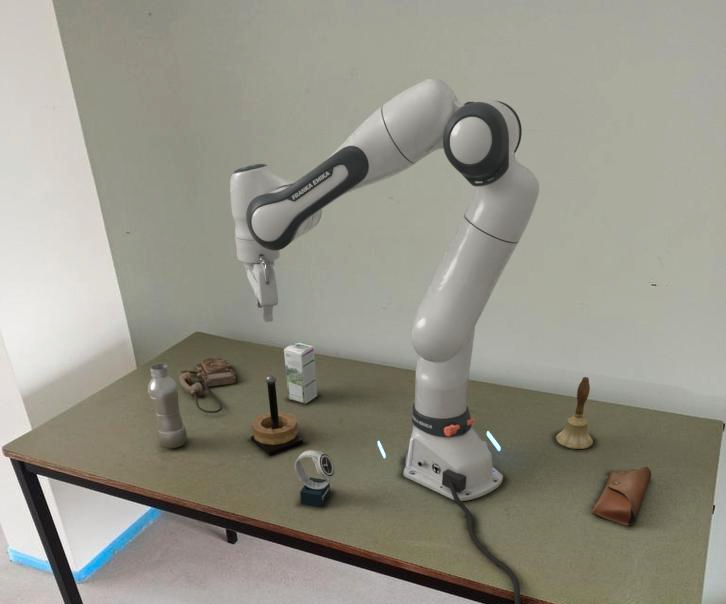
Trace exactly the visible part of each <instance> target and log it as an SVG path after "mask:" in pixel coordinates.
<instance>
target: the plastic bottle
mask: <svg viewBox="0 0 726 604" xmlns="http://www.w3.org/2000/svg"><path fill="white" fill-rule="evenodd" d="M149 370H150V376H151V377H152V378H151V379H150V381H149V383H148V385H147V392H148V393H147V394H148V395H149V398H150V401H151V403H152V406H153V410H154V413H155V418H156V425H157V427H156V428H157V429H156V433H157V439H158V442H159V444H160V445H162V446H163V447H164V448H166V449H175V448H179V447H182V446H184V445H185V444H186V442H187V440H188V433H187V429H186V426H185V425H184V422H183V418H182V415H181V411H180V404H179V387H178V384H177V382H176V381H175V380H174V379H173V378H172V377H171V376H170V375H169V374H170V371H169V369H168V364H166V363H160V362H159V363H154V364H152V365H150V367H149Z"/></svg>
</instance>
